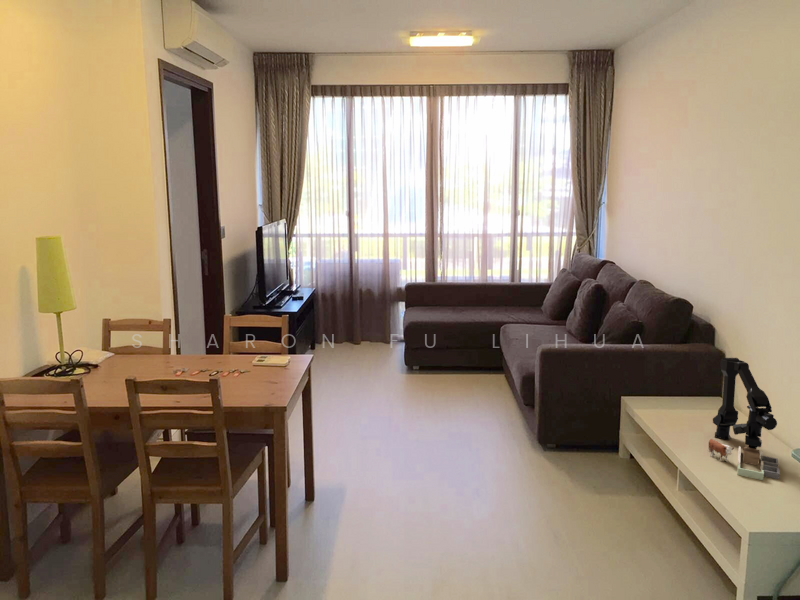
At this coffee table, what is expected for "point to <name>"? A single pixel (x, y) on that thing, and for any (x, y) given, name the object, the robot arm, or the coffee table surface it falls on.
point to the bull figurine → (719, 449)
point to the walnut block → (751, 456)
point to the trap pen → (767, 468)
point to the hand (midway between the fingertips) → (750, 453)
